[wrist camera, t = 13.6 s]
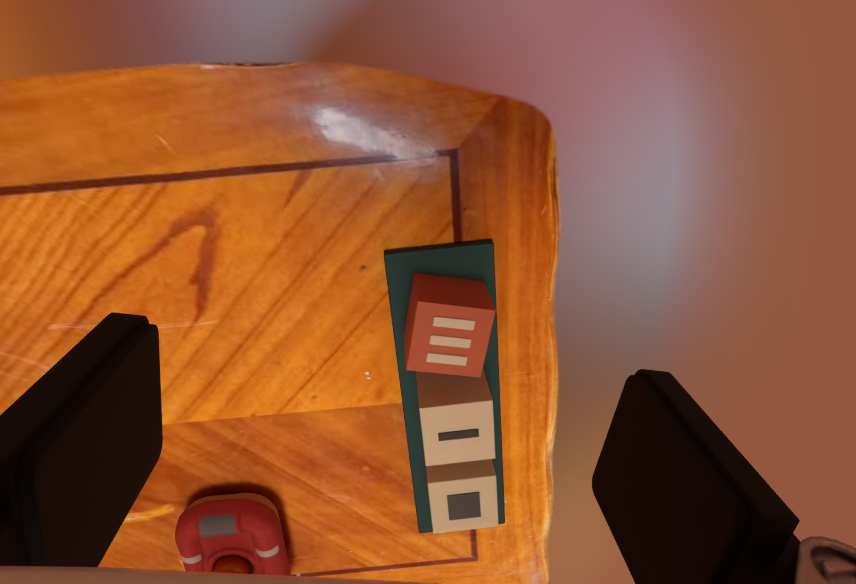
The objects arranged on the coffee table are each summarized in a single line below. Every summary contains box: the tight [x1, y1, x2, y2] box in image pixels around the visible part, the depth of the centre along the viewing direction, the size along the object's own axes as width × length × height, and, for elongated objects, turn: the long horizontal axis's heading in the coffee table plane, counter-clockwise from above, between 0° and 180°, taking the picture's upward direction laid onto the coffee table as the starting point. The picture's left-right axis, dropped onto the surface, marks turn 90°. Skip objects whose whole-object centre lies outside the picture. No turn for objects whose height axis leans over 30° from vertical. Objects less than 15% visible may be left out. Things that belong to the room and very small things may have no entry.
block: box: [426, 459, 498, 534], centre depth 39 cm, size 5×5×5 cm
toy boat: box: [175, 493, 290, 576], centre depth 41 cm, size 8×12×8 cm, turn 4°
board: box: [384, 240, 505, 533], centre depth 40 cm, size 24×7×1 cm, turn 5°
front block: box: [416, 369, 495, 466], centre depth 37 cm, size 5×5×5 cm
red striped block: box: [404, 273, 496, 378], centre depth 34 cm, size 5×5×5 cm
